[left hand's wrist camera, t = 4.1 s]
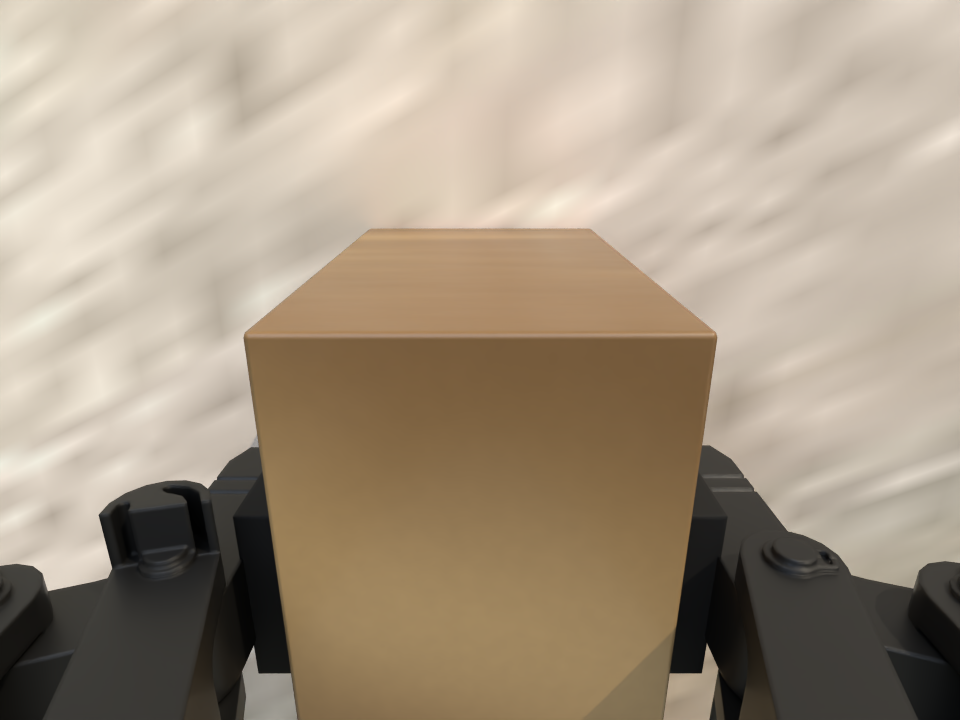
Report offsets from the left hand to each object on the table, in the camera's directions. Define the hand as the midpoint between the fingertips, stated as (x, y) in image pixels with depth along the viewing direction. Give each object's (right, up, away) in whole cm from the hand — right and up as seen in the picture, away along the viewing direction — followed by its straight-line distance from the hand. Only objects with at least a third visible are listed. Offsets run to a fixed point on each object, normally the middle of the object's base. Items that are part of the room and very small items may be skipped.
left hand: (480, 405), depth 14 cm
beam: (0, -32, +12) cm, 35 cm away
